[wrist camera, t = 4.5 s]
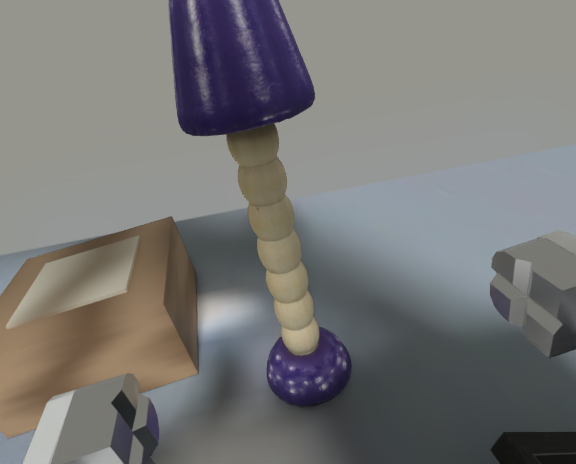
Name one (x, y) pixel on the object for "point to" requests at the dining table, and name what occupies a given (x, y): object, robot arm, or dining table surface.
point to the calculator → (536, 448)
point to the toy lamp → (259, 163)
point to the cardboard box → (97, 320)
